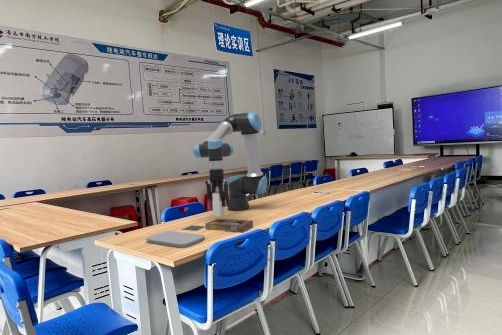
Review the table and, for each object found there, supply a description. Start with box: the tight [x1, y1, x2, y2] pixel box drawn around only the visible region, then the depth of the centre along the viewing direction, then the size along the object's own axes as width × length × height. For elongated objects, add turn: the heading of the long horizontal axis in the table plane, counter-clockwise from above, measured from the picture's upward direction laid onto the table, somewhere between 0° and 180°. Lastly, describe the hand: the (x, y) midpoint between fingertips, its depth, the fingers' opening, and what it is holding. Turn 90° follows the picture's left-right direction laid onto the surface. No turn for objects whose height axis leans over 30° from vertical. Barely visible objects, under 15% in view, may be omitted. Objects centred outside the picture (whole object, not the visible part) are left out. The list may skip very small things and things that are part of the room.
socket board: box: [204, 218, 254, 233], centre depth 186 cm, size 12×22×4 cm, turn 65°
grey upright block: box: [212, 191, 225, 217], centre depth 188 cm, size 4×4×13 cm
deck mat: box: [180, 225, 205, 232], centre depth 190 cm, size 10×10×1 cm
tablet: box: [145, 230, 206, 249], centre depth 167 cm, size 16×26×2 cm, turn 57°
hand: (218, 212), depth 188 cm, fingers closed on grey upright block, 4 cm apart
